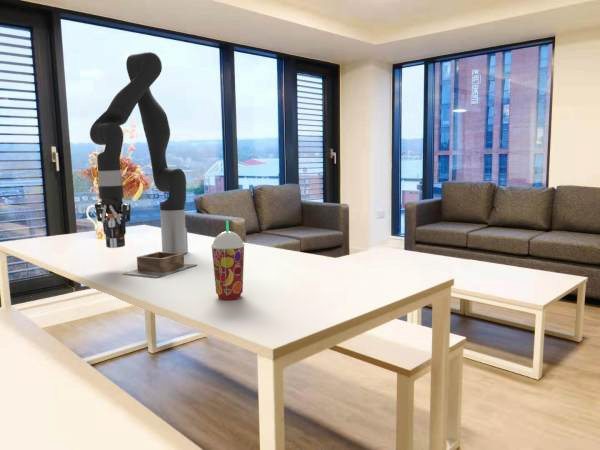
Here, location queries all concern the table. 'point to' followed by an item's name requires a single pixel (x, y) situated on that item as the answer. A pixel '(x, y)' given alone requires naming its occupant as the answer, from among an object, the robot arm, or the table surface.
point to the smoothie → (228, 264)
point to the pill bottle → (113, 233)
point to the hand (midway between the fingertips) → (114, 234)
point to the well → (159, 264)
